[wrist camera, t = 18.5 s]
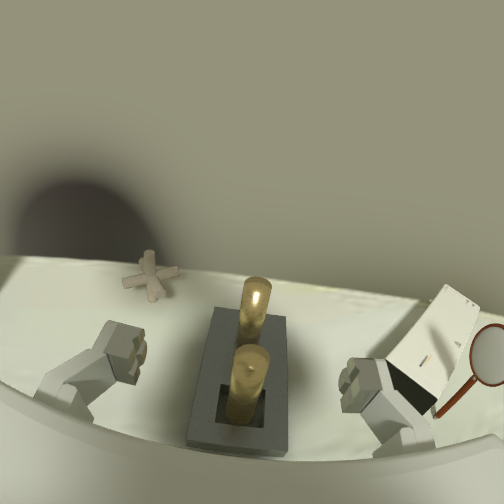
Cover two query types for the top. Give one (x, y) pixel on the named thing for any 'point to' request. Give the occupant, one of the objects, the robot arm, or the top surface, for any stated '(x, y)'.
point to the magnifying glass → (483, 362)
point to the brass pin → (246, 382)
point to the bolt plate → (220, 370)
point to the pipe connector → (151, 277)
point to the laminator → (432, 348)
